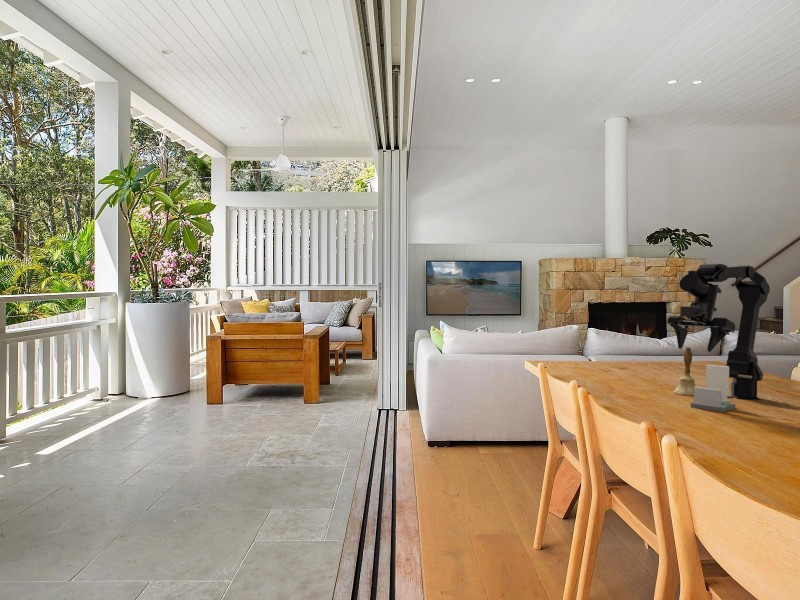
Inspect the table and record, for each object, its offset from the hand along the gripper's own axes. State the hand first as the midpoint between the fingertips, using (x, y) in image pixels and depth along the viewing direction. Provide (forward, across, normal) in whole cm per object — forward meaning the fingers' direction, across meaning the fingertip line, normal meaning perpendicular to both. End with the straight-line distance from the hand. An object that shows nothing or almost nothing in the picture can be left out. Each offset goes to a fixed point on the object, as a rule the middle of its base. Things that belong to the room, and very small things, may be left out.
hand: (694, 350), depth 170 cm
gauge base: (+15, +4, +9) cm, 18 cm away
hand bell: (+10, -14, +23) cm, 29 cm away
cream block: (+13, +4, +11) cm, 17 cm away
